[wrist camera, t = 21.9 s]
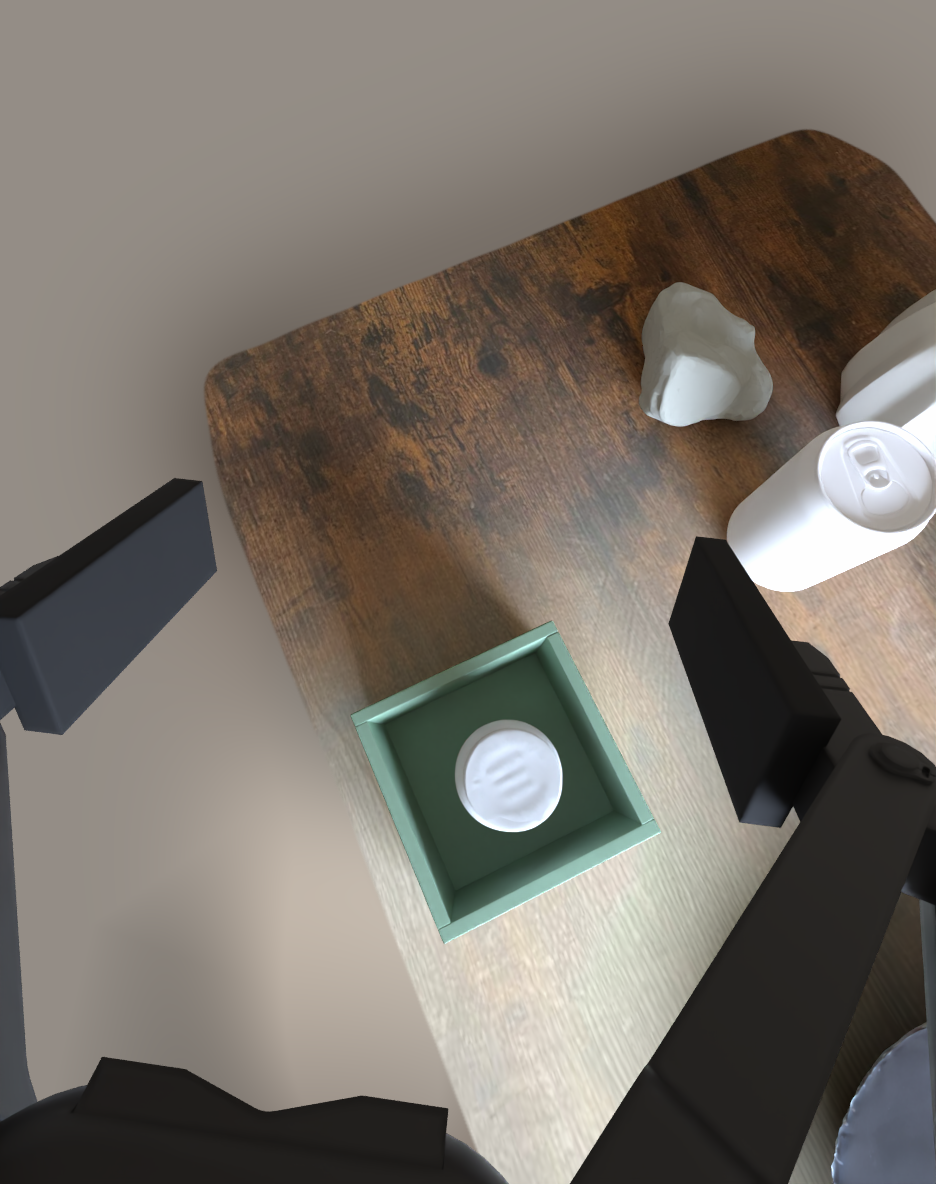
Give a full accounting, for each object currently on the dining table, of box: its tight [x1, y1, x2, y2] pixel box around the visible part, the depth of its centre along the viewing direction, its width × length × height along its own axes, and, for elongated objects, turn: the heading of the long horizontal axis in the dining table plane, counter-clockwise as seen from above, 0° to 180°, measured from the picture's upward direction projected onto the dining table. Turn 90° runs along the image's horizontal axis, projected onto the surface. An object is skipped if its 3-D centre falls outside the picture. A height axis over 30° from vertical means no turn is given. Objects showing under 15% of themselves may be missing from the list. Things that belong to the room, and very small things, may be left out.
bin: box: [351, 621, 661, 944], centre depth 38 cm, size 14×14×8 cm
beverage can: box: [727, 421, 936, 592], centre depth 40 cm, size 8×8×12 cm
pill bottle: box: [455, 720, 562, 832], centre depth 36 cm, size 6×6×11 cm
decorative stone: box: [639, 282, 773, 427], centre depth 46 cm, size 11×9×10 cm
